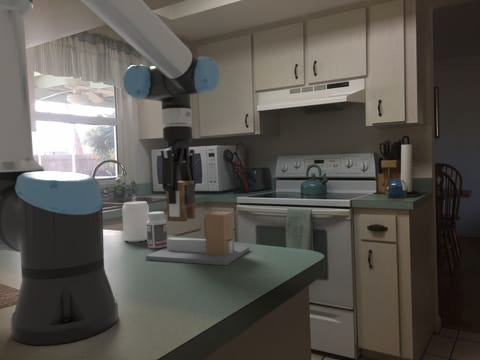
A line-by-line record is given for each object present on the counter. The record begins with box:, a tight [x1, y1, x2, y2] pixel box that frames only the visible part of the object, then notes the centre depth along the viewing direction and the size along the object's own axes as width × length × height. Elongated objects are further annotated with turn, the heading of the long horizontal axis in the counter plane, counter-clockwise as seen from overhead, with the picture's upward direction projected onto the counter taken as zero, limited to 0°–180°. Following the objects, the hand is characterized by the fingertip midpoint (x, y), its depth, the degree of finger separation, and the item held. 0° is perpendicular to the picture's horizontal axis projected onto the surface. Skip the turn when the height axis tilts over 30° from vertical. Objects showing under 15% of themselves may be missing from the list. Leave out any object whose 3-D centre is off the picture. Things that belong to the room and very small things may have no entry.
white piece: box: [121, 200, 150, 243], centre depth 132 cm, size 8×8×12 cm
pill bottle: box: [146, 211, 168, 249], centre depth 121 cm, size 6×6×10 cm
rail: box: [145, 211, 250, 266], centre depth 108 cm, size 16×22×11 cm
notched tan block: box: [165, 180, 196, 222], centre depth 109 cm, size 6×6×10 cm
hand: (181, 214), depth 110 cm, fingers closed on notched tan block, 6 cm apart
